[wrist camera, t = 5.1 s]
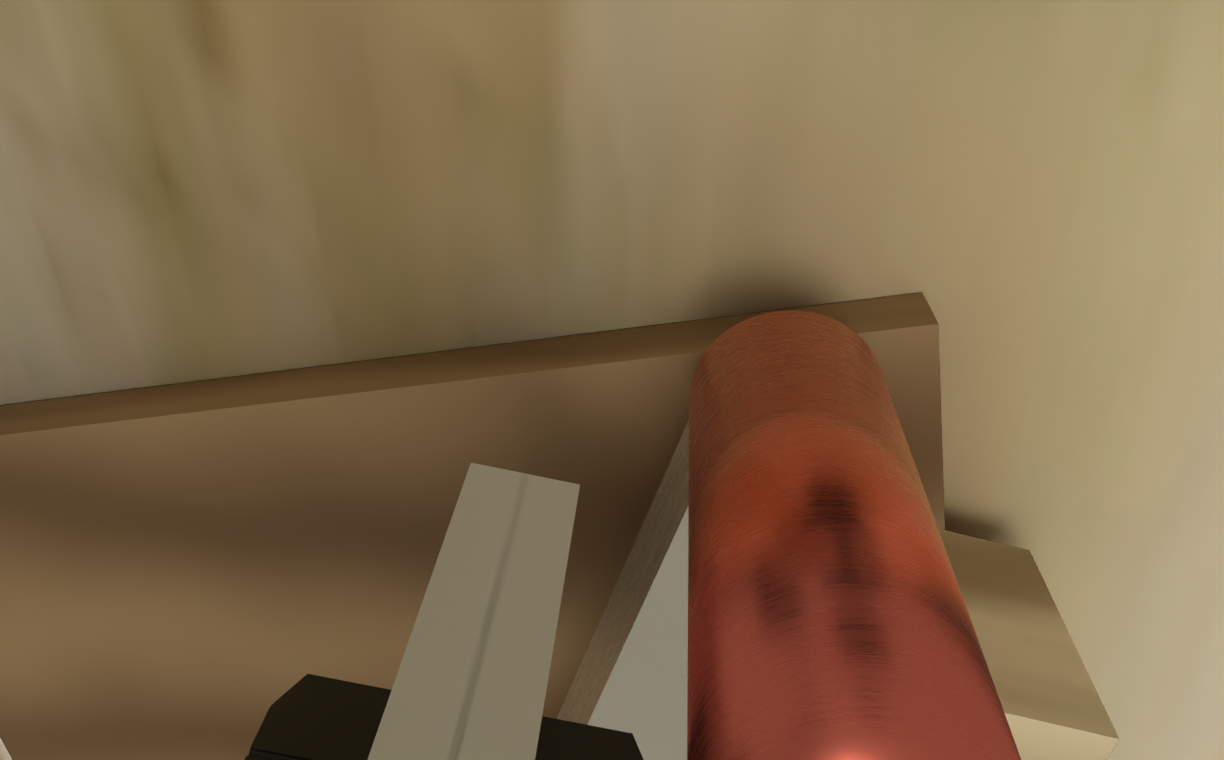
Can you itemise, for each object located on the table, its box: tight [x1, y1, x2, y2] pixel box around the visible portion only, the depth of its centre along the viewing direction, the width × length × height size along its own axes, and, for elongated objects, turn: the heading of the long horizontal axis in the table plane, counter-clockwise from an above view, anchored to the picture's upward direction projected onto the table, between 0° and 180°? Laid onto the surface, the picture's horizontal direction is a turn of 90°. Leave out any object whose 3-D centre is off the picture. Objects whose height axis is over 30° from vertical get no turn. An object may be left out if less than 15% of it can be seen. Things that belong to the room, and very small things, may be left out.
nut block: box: [939, 529, 1119, 760], centre depth 20 cm, size 5×5×5 cm
